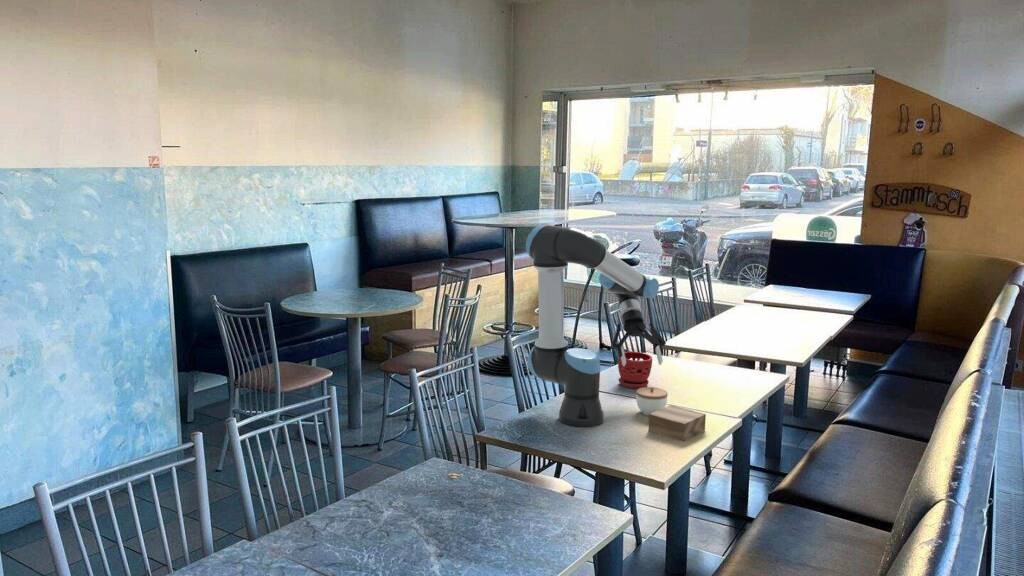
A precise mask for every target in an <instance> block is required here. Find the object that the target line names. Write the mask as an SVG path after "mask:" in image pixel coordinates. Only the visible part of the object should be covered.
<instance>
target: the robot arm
mask: <svg viewBox="0 0 1024 576" xmlns="http://www.w3.org/2000/svg"><path fill="white" fill-rule="evenodd" d="M525 249H526V254H527V255H528V257H530V258H531V259H533V267H534V268H535V269H536V270H537V278H538V279H537V281H538V282H537V283H538V284H537V287H538V289H537V291H538V295H537V296H538V297H537V298H538V299H537V300H538V302H537V303H538V339H537V340H536V341H535V342H534V346H533V347H531V349H530V351H529V352H530V353H529V354H528V356H527V366H528V370H529V371H530V373H531V374H532V375H533V376H534V377H536V378H538V379H541V380H543V381H546V382H547V381H548V382H550V383H554V384H559V385H562V386H564V397H563V400H562V403H561V406H560V409H559V411H558V420H559V422H561V423H563V424H565V425H568V426H572V427H578V428H579V427H580V428H581V427H582V428H583V427H585V428H586V427H594V426H598V425H601V424H602V423H603V422H604V421H605V418H604V417H605V416H604V415H605V414H604V411H603V407H602V405H601V404H602V403H601V400H600V384H601V383H600V381H601V379H600V377H601V359H600V357H599V355H598V354H597V353H596V352H594V351H593V350H589V349H587V348H580V347H573V348H569V342H568V341H567V340H566V339H565V338H564V337H565V334H564V333H565V331H564V330H565V329H564V327H565V325H564V313H565V312H564V270H565V269H566V268H567V267H568V266H569V265H568V263H569V264H576V265H581V266H583V267H585V268H587V269H594V270H596V271H598V272H599V273H600V274H599V277H598V281H599V285H601V286H602V287H603V289H604V290H607V291H608V292H609V293H610V294H611V295H613V296H614V297H615V298H617V300H618V306H619V309H620V316H621V320H622V324H623V325H622V324H620V323H617V324H616V327H615V335H614V337H613V340H612V343H611V346H610V348H611V349H612V350H614V349H615V351H616V353H617V357H621V361H622V366H625V364H626V358H625V354H624V352H625V349H624V346H623V345H624V343H625V342H626V340H627V339H629V337H632V338H634V337H638V338H639V337H641V338H642V339H645V340H646V341H647V342H649V343H650V344H651V345H653V347H655V355H656V358H657V359H656V360H657V363H658V366H659V365H660V366H661V365H662V364H663V362H664V360H663V355H664V351H663V348H665V346H666V343H667V341H666V340H665V339H664V338H663V336H662V335H661V334H660V333H659V332H658V330H657V329H656V328H655V327H654V323H653V322H650V323H649V324H645V323H644V318H643V313H642V309H641V305H640V301H639V297H640V298H644V299H653V298H655V297H656V296H657V295H658V294H659V290H660V283H659V281H658V279H657V278H655V277H651V276H646V275H644V274H642V273H641V272H640V271H638V270H636V269H635V268H634V267H632V266H631V265H630V264H628V263H626V262H625V261H624V260H622V259H621V258H620V257H618V256H616V255H615V254H613V253H612V252H610V251H609V250H608V249H607V248H606V245H605V244H604V243H603V242H601V241H600V240H598V239H597V238H595V237H594V236H592V235H591V234H589V233H587V232H585V231H584V230H581V229H579V228H576V227H572V226H571V227H570V226H569V227H567V226H559V225H558V226H557V225H550V224H549V225H548V224H547V225H537V226H535V227H534V228H533V229H532V230H531V232H530V233H529V234H528V236H527V239H526V243H525ZM622 331H625V334H624V335H623V337H622V338H621V339H620V340H619V342H618V338H619V335H620V333H621V332H622ZM617 342H618V343H617Z"/></svg>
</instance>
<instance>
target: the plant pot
mask: <svg viewBox="0 0 1024 576" xmlns="http://www.w3.org/2000/svg"><path fill="white" fill-rule="evenodd" d="M624 354H625V358H626V364H625V366H622V361H621V357H618V356H617V357H618V359H617V361H618V362H617V366H618V367H617V368H618V373H619V378H618V383H619V384H620V385H621V386H624V387H627V388H631V389H639V388H643V387H647V385H648V384H649V380H648V378H649V377H650V374H651V371H652V367H653V356H651V355H650V354H648V353H644V352H641V351H640V352H639V351H624Z"/></svg>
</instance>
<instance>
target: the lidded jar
mask: <svg viewBox="0 0 1024 576" xmlns="http://www.w3.org/2000/svg"><path fill="white" fill-rule="evenodd" d="M635 395H636V396H635V399H636V404H637V407H638V409H639V410H640V411H641V414H643V415H644V416H649V414H650V413H653V412H655V411H658V410H660V409H662V408H665V407H667V404H668V403H667V402H668V395H669V393H668V391H667V390H666V389H663V388H660V387H654V386H645V387H641V388H636V391H635Z"/></svg>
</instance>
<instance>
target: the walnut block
mask: <svg viewBox="0 0 1024 576" xmlns="http://www.w3.org/2000/svg"><path fill="white" fill-rule="evenodd" d="M706 417H707V416H706V413H703V412H699V411H695V410H692V409H687V408H683V407H680V406H677V405H674V404H670V405H668V406H667V405H666V406H665V408H662V409H660V410H658V411H655V412H653V413H650V414H649V417H648V432H651V433H654V434H657V433H658V435H660V436H664V437H667V436H668V438H671V439H674V438H675V440H677V439H678V441H681V440H682V441H681V442H686V441H688V440H690V439H691V437H692V438H693V436H694V437H695V435H696V436H697V434H698V435H700V434H701V432H702V433H704V432H705V431H706ZM703 431H704V432H703ZM699 433H700V434H699ZM689 438H690V439H689ZM687 439H688V440H687ZM685 440H686V441H685Z"/></svg>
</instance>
